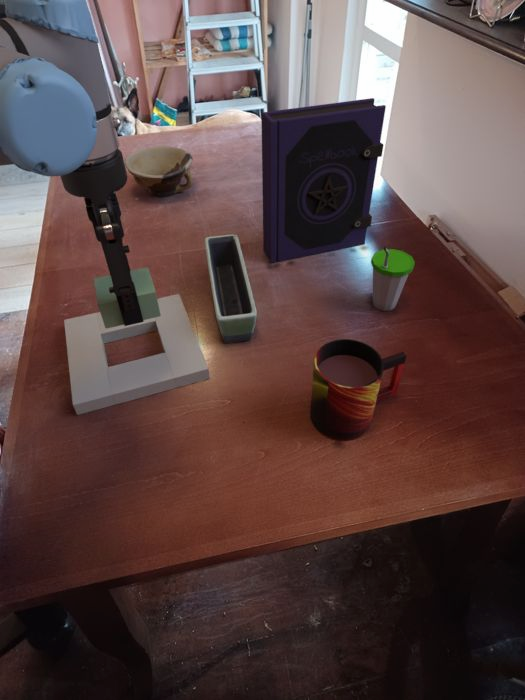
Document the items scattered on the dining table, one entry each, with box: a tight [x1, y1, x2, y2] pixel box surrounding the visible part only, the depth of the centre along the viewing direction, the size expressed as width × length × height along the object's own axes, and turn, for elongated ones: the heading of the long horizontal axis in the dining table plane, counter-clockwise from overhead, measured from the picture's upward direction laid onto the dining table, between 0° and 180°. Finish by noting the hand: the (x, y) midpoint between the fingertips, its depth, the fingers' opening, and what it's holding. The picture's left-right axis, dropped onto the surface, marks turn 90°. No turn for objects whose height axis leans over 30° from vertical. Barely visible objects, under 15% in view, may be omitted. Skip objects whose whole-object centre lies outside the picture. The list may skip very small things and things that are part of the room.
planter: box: [204, 233, 258, 344], centre depth 94 cm, size 28×7×7 cm, turn 10°
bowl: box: [124, 145, 194, 198], centre depth 128 cm, size 18×18×10 cm
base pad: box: [63, 293, 211, 416], centre depth 85 cm, size 22×22×2 cm
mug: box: [309, 338, 407, 442], centre depth 72 cm, size 10×14×12 cm
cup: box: [370, 246, 416, 312], centre depth 90 cm, size 8×8×15 cm
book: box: [260, 97, 387, 264], centre depth 100 cm, size 24×6×30 cm, turn 109°
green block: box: [93, 266, 161, 329], centre depth 70 cm, size 8×6×4 cm
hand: (130, 307), depth 71 cm, fingers closed on green block, 6 cm apart
